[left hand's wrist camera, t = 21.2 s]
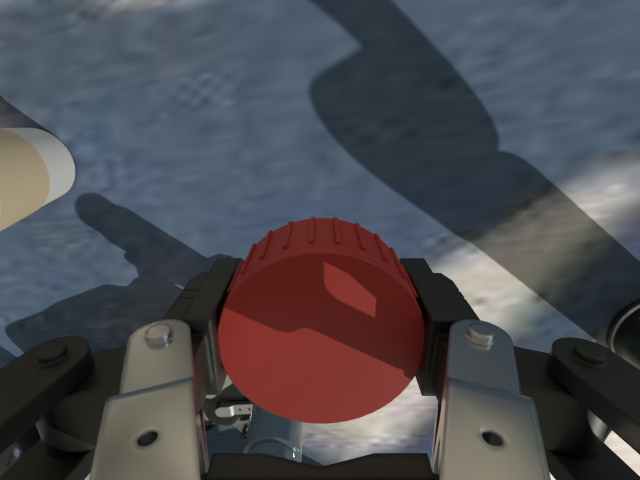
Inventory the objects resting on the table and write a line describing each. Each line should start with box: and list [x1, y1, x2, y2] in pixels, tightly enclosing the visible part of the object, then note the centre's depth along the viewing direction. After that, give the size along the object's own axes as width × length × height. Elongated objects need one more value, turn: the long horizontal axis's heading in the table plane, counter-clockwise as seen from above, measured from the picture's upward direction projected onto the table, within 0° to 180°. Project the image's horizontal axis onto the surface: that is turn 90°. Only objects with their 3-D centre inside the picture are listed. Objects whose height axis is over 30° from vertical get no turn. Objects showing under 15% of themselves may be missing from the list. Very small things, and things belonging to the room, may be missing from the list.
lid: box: [218, 217, 425, 423], centre depth 10 cm, size 5×5×2 cm
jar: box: [243, 403, 304, 462], centre depth 34 cm, size 4×4×18 cm
